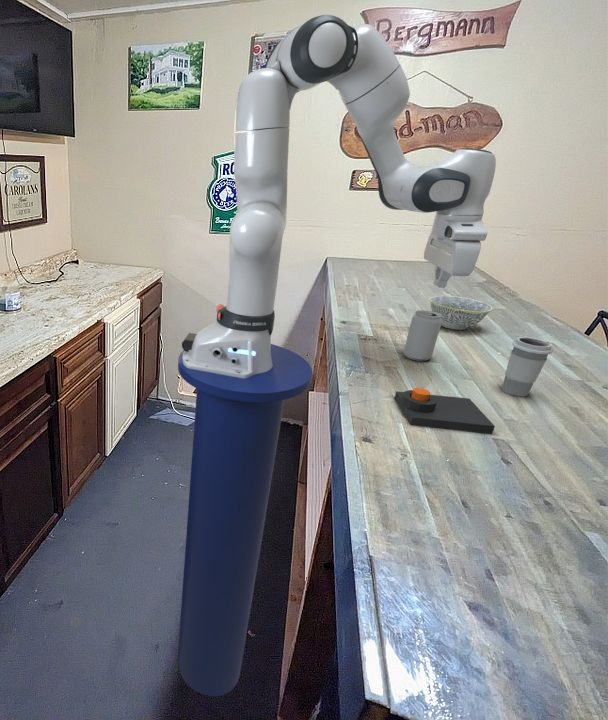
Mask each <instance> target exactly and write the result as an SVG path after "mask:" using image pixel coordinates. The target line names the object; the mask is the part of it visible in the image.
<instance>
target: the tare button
mask: <svg viewBox="0 0 608 720" xmlns="http://www.w3.org/2000/svg"><path fill="white" fill-rule="evenodd" d="M412 390H413V391H412V395H411V398H413V399H415V400H418V401H424V402H426V401H428V399H429V396H430V395H431V391H430V390H428V389H425V388H422V387H414V388H413V389H412Z"/></svg>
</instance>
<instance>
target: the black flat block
mask: <svg viewBox="0 0 608 720" xmlns="http://www.w3.org/2000/svg"><path fill="white" fill-rule="evenodd" d="M412 391H413V389H409V390H404V391H400V390H399V391H398V390H397V391H395V394H394V400H395V401H396V403H397V405H398V407H399V408H400V410H401V411H402V413H403V414H404V416H405V418H406V419H407V421H408V423H409V425H411V426H412V425H413V426H421V427H430V428H438V429H447V430H455V431H456V430H457V431H464V432H465V431H466V432H472V433H482V434H483V433H484V434H493V433H494V430H495V427H496V426H495V424H494V423H493V422H492V421H491V420H490V419H489V418H488V417H487V416H486V414H484V412H483V411H481V409H480V408H479V407H478V406H477V405H476V404H475V403H474V402H473V401H472V399H471V398H467V397H458V396H449V395H448V396H447V395H438V394H430V396H429V399H428V401H426V402H424V401H418V400H415V399H413V398H411V395H412Z"/></svg>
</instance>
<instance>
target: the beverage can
mask: <svg viewBox="0 0 608 720" xmlns="http://www.w3.org/2000/svg"><path fill="white" fill-rule="evenodd" d="M441 317H442V315H441V314H439V313H436V312H432V310H424V309H423V310H422V309H421V310H420V309H419V310H416V311H415V313H414V314H413V315H412V317H411V321H410V324H409V328H408V332H407V336H406V340H405V344H404V347H403V351H402V353H403V354H404V356H405V357H406V358H408V359H409V360H413V361H417V362H425V361H428V360H430V359H432V357H433V353H434V351H435V346H436V343H437V340H438V337H439V333H440V329H441V327H442V326H441V323H442V319H441Z"/></svg>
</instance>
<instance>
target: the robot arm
mask: <svg viewBox="0 0 608 720" xmlns="http://www.w3.org/2000/svg"><path fill="white" fill-rule="evenodd" d="M403 69H404V68H403V67H402V65H401V64H400V61H399V60H398V58H397V56H396V54H395V52H394V50H393V49H392V47H391V46H390V44H389V43H388V42H387V41H386V39H385V38H384V37H383V35H382V34H381V33H380V32H379V30H378V29H377V28H376V27H375V26H373V25H372V24H368V23H362V24H359V25H355V26H351V25H349V24H347V22H346V21H345V20H344V19H342V18H340V17H338V16H336V15H332V14H321V15H317V16H314V17H312V18H310V19H308V20H307V21H306V22H304V23H303V24H301V25H299V26H296V27H295V28H293V29H291V30H290V31H289V32H288V33H287V34H286V35H284V37H282V39H281V40H279V41H278V42H277V43H276V44H275V45H274V47H273V48H272V49H271V51H270V53H269V55H268V57H267V59H266V61H265V62H264V65H263V67H262V68H258V69H255V70H254V71H251V72H249V73H248V74H247V75H245V77H244V78H243V79H242V81H241V82H240V85H239V88H238V92H237V98H236V106H235V114H234V130H233V131H234V132H233V133H234V139H233V140H234V141H233V142H234V143H233V146H234V147H233V148H234V149H233V175H234V183H235V193H236V194H235V195H236V214H235V215H234V217H233V218H232V221H231V223H230V227H229V244H228V284H227V295H226V305H225V306H224V304H222V303H219V304H218V305H217V306H216V309H215V312H216V321H214V322H213V323H211V324H210V325H208V326H206V327H203V328H202V329H200V330H199V331H198V332H197V333H193V332H189V333H188V334H187V335H186V336H185V338H184V339H183V341H182V342H181V348H182V349H183V350H184V353H183V358H182V362H183V364H184V366H185V367H186V368H189V369H194V370H200V371H205V372H211V373H216V374H222V375H227V376H232V377H238V378H249V377H251V376H253V375H256V374H261V373H264V372H267V371H269V370H270V369H271V368H272V366H273V364H272V358H271V344H272V342H271V340H272V339H271V338H272V334H273V331H274V326H275V319H276V316H275V314H276V313H275V310H274V309H275V301H276V294H277V287H278V279H279V269H280V259H281V253H282V252H281V251H282V245H283V238H284V237H283V236H284V233H285V231H286V227H287V209H288V208H287V207H288V169H289V168H288V167H289V166H288V165H289V146H290V125H291V124H290V123H291V122H290V121H291V115H290V114H291V112H290V111H291V108H292V107H291V106H292V103H293V101H294V97H295V96H296V94H298V93H299V92H301V91H307V90H310V89H312V88H315V87H317V86H318V85H320V84H322V83H325V82H327V83H328V84H330V85H331V86H332V87H333V88H334V89H335V90H336V91H337V93H338V95H339V97H340V99H341V101H342V103H343V104H344V105H343V106H344V107H345V109H346V111H347V112H348V114H349V116H350V118H351V119H352V121H353V123H354V125H355V127H356V130H357V132H358V134H359V138H360V141H361V143H362V145H363V148H364V149H365V152H366V154H367V156H368V159H369V160H370V162H371V165H372V167H373V170H374V172H375V174H376V178H377V187H378V196H379V199H380V201H381V203H382V204H383V205H384V207H386V208H388V209H391V210H396V211H408V212H416V213H423V214H430V213H435V216H434V219H433V224H432V227H431V230H430V231H431V232H430V233H429V236H428V239H427V242H426V244H425V247H424V251H423V259H424V260H425V261H427V262H429V263H430V264H433V265H434V279H433V285H434V286H436V287H437V288H441V289H444V288H446V287H447V285H448V282H449V280H450V278H451V277H452V276H453V277H470V275H471V274H472V273H473V271H474V269H475V267H476V264H477V261H478V260H479V259H478V258H479V256H480V251H481V250H482V249H481V248H482V242H484V241H486V239H487V236H488V230H487V229H486V227H485V225H484V223H483V216H484V212H485V211H484V207H485V202H486V200H487V198H488V196H489V195H490V193H491V190H492V185H493V181H494V178H495V173H496V167H497V166H496V165H497V159H496V154H494V153H493V152H491V151H490V150H486V149H481V148H471V147H463V148H459V149H456V150H455V151H454V152H453V153H452V154H450V155H449V156H447V157H445V158H443V159H441V160H439V161H437V162H433V163H432V164H430V165H417V164H414V163H412V162H410V161H409V160H408V159H407V158H406V157H405V155H404V152H403V149H402V147H401V144H400V142H399V139H398V138H397V135H396V132H395V123H396V121H397V120H398V119H399V117H400V116H401V115H402V114H403V112H404V111H405V109H406V107H407V106H408V103H409V101H410V100H409V99H410V95H411V92H410V91H411V90H410V86H409V82H408V79H407V75H406V73H405V71H404V70H403Z"/></svg>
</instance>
